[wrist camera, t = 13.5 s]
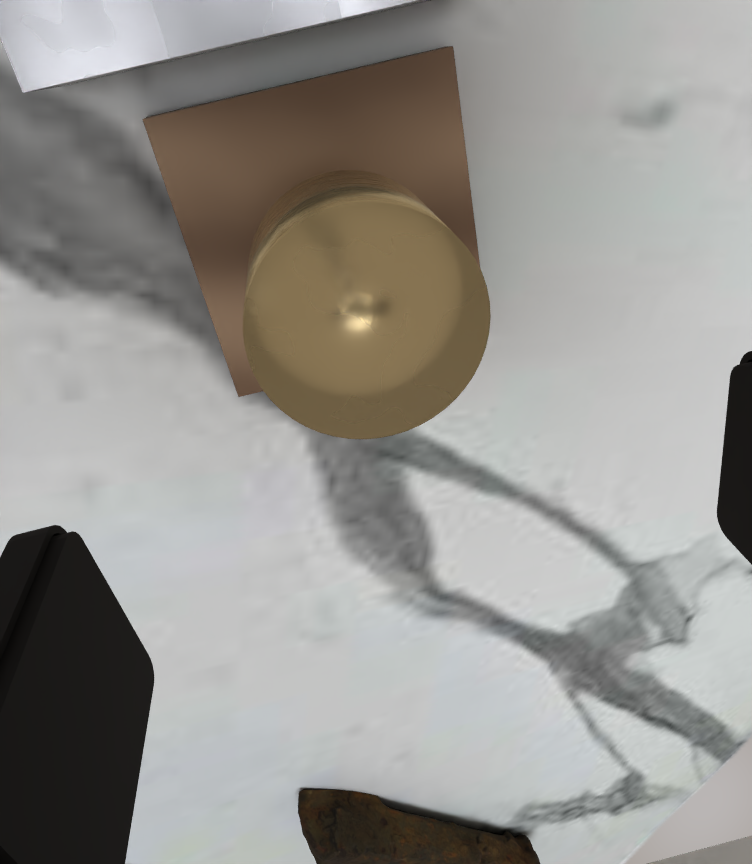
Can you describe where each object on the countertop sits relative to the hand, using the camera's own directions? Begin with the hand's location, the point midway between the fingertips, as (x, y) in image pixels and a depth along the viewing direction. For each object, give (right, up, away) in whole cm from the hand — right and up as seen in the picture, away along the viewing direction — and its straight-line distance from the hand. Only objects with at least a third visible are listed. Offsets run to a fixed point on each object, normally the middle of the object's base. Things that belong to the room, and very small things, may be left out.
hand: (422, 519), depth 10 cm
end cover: (-2, +9, +16) cm, 19 cm away
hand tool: (+2, -26, +38) cm, 47 cm away
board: (-2, +9, +17) cm, 20 cm away
